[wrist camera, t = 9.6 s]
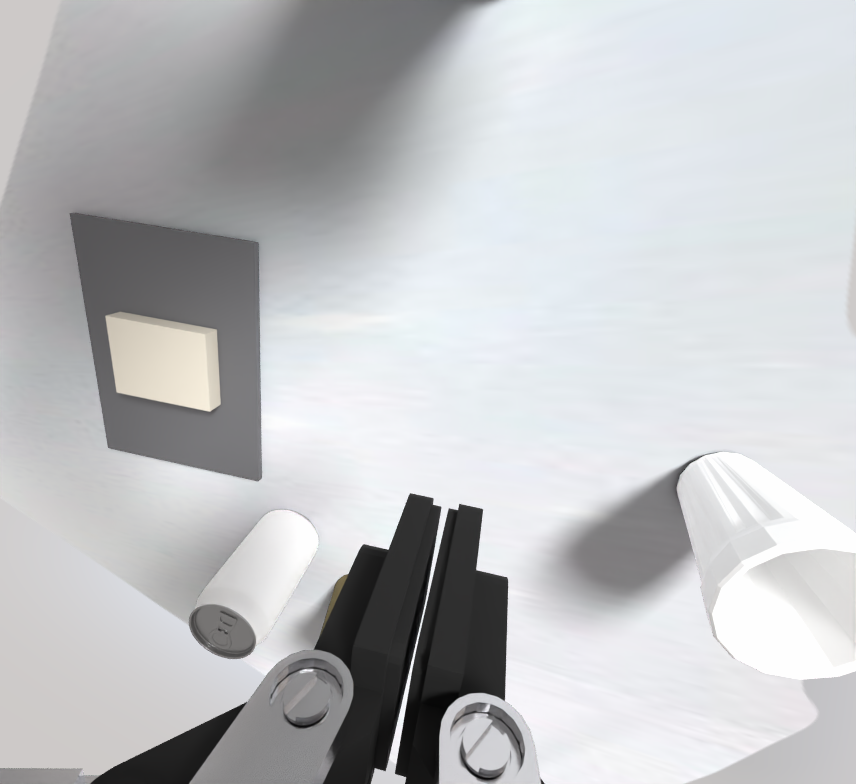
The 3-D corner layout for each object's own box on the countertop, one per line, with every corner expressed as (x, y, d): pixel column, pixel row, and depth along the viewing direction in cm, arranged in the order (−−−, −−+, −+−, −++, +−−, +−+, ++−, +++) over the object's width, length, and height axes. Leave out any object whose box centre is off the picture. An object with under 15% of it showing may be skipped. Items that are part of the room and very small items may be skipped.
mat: (76, 213, 39) (69, 213, 38) (258, 242, 37) (254, 242, 36) (112, 445, 47) (108, 447, 47) (261, 477, 45) (258, 481, 45)
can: (253, 541, 49) (176, 640, 38) (269, 496, 46) (192, 587, 35) (309, 568, 49) (249, 674, 38) (329, 524, 46) (269, 625, 35)
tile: (217, 328, 40) (121, 311, 41) (205, 334, 38) (105, 315, 39) (221, 403, 42) (131, 385, 43) (209, 411, 41) (116, 392, 42)
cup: (820, 480, 36) (970, 619, 24) (713, 555, 40) (795, 706, 28) (723, 402, 35) (828, 506, 23) (623, 487, 39) (669, 612, 27)
